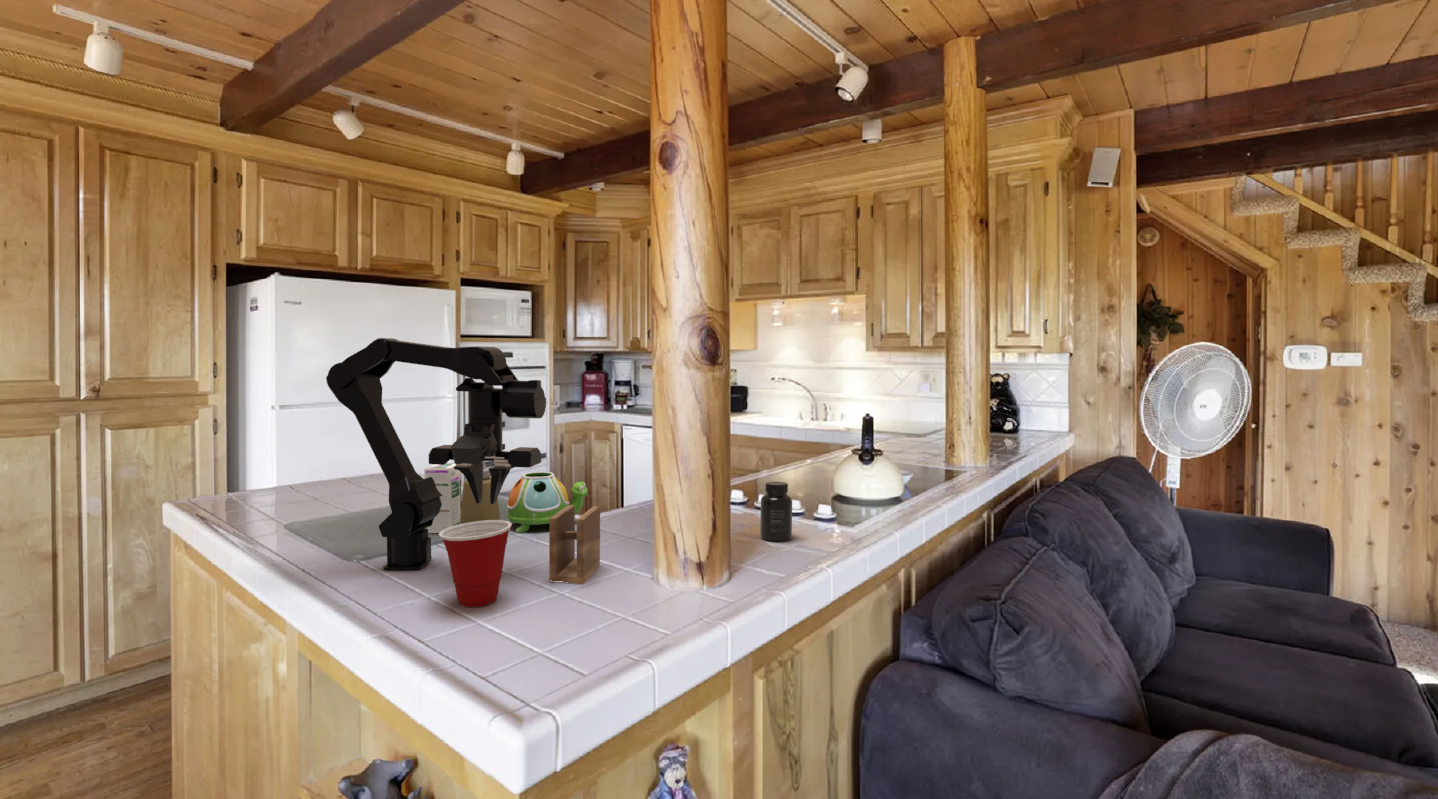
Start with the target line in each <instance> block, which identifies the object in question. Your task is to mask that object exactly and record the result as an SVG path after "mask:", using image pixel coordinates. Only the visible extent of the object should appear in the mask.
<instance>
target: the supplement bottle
mask: <svg viewBox="0 0 1438 799" xmlns="http://www.w3.org/2000/svg"><path fill="white" fill-rule="evenodd" d="M764 491H765V494H764V495H763V496H761V499H760V525H759V526H760V527H759V528H760V531H759V532H760V534H759V536H760V538H761V539H763V540H764V541H766V542H767V541H768V542H775V541H780V542H786V540H787V541H789V540H791V539H790V538H792V536H793V499H792V497H791V496H790V495H789V494H788V492H789V484H788V483H787V482H784V481H768V482H767V481H766V482H765V489H764Z"/></svg>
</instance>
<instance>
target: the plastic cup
mask: <svg viewBox="0 0 1438 799" xmlns="http://www.w3.org/2000/svg"><path fill="white" fill-rule="evenodd" d="M512 523H513V522H511V521H510V520H503V519H500V520H485V521H475V522H469V523H464V524H459V525H456V526H452V527H449V528H447V529H444V530H442V531H441V532H440V533H439V534H438V537H439V538H440V539H441V540H442V541H443V544H444V546H445V551H446V552H447V557H448V562H449V566H450V571H451V575H452V581H453V585H454V588H455V594H456V599H457V601H458V604H459V605H460V606H463V607H467V608H476V607H478V608H480V607H486V606H487V605H491V604H493V603H494V602H496V600H497V598H498V594H499V590H500V584H501V578H502V574H503V567H504V560H505V553H506V546H507V544H508V538H509V533H510V530H511V527H512Z"/></svg>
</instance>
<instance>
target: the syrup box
mask: <svg viewBox="0 0 1438 799" xmlns="http://www.w3.org/2000/svg"><path fill="white" fill-rule="evenodd" d="M454 466H456V464H455V463H454V462H447V463H446V464H444V465H440V464H431V465H429V466H427V467H425V468H423V471H424V473H423V475H424V479H425V478H428V477H432V478H433V480H434V482H435V485H436V488H437V490H438V491H439V492H440V493H441V494H442V496H441V497H440V499H441V503H442V507H441V509H440V512H439V514H438V515H437V516H436V517H435V518H434V520H433V523H432V526H430V527H427V528H425V529H428V534H431V533H440V532H441V531H442V530H444V529H447V528H449V527H452V526H456V525H459V524H461V523H460V515H461V505H462V473H461V472H460V471H459V470H455V469H454Z"/></svg>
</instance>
